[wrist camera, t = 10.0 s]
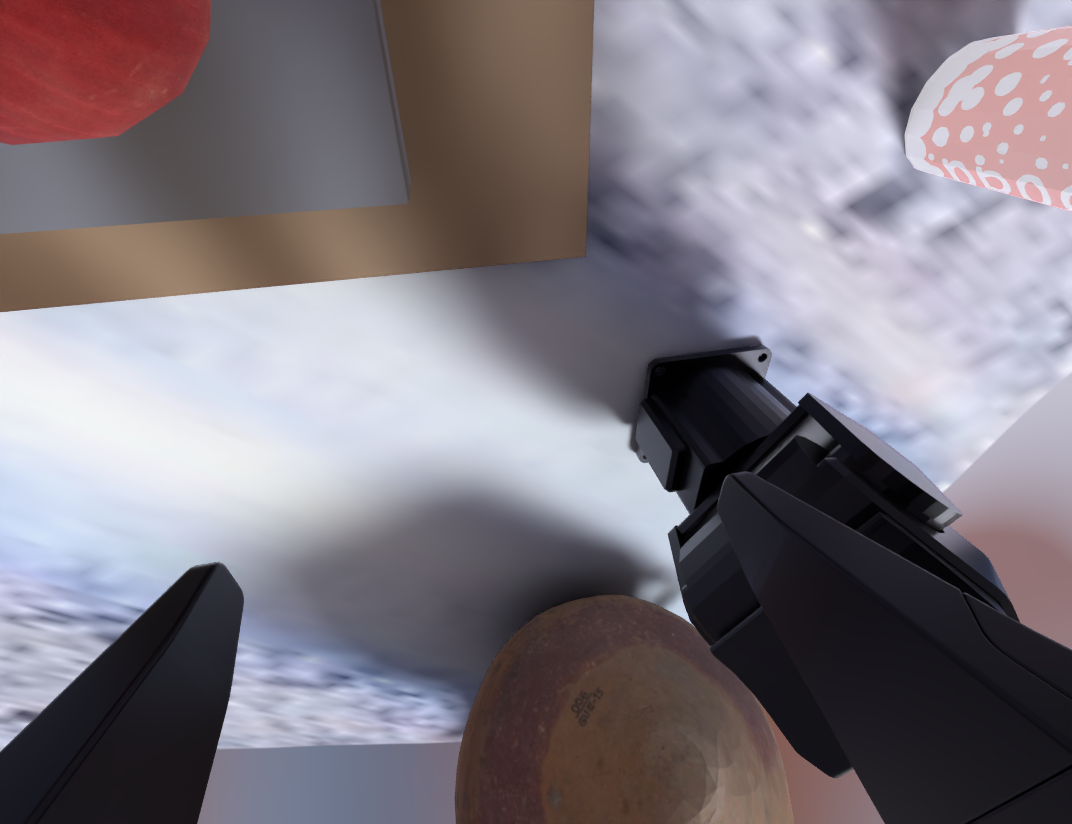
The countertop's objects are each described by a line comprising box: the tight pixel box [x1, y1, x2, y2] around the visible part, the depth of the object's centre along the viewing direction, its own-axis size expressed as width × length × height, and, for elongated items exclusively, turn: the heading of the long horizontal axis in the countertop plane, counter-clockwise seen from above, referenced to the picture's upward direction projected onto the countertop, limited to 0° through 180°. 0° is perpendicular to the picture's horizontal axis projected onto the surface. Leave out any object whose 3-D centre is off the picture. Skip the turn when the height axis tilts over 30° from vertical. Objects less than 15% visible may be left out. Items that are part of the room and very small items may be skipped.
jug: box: [455, 595, 794, 824], centre depth 32 cm, size 20×20×30 cm
